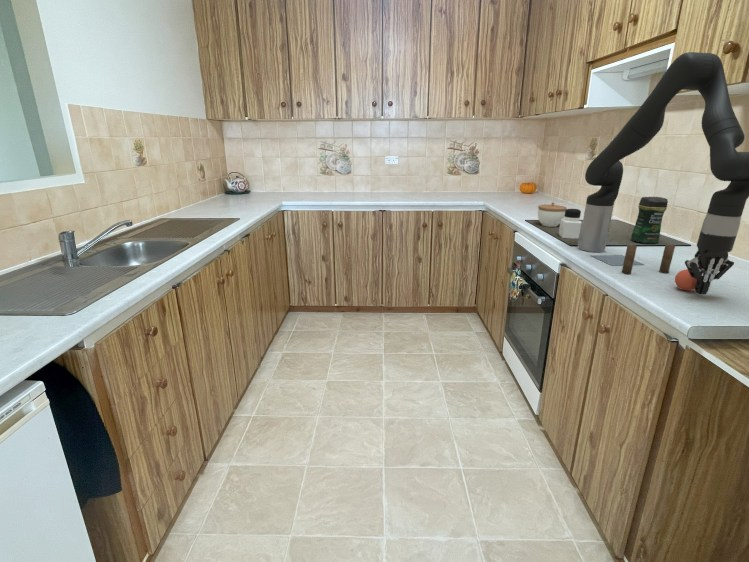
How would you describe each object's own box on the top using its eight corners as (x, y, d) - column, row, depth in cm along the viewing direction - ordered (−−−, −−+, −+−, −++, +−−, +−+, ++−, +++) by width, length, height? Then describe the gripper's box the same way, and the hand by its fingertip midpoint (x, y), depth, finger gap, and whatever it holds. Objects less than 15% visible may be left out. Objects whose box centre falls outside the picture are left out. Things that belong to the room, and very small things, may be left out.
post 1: (619, 271, 137) (625, 244, 134) (627, 271, 137) (633, 244, 134) (625, 274, 134) (631, 246, 131) (632, 274, 135) (638, 246, 132)
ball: (667, 286, 124) (672, 266, 122) (686, 286, 125) (691, 266, 123) (683, 293, 118) (689, 273, 116) (703, 293, 119) (709, 272, 117)
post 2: (657, 270, 138) (663, 244, 135) (664, 270, 139) (671, 243, 136) (663, 273, 136) (669, 246, 133) (670, 273, 136) (677, 245, 133)
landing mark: (590, 255, 155) (590, 255, 155) (621, 255, 156) (621, 254, 156) (611, 265, 143) (611, 265, 143) (644, 264, 145) (644, 264, 145)
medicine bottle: (579, 239, 180) (584, 210, 176) (562, 238, 181) (566, 210, 177) (575, 235, 187) (579, 208, 183) (558, 234, 188) (562, 207, 184)
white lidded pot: (530, 223, 212) (533, 200, 208) (553, 222, 214) (557, 200, 210) (544, 228, 200) (548, 204, 196) (569, 227, 202) (573, 204, 198)
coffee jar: (638, 244, 173) (648, 198, 167) (627, 239, 180) (636, 195, 174) (662, 244, 173) (673, 198, 167) (650, 239, 180) (660, 195, 174)
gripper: (728, 228, 115) (710, 287, 121) (684, 228, 113) (667, 289, 119) (755, 234, 108) (734, 298, 114) (708, 235, 106) (689, 299, 112)
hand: (700, 293), depth 117 cm, fingers closed
